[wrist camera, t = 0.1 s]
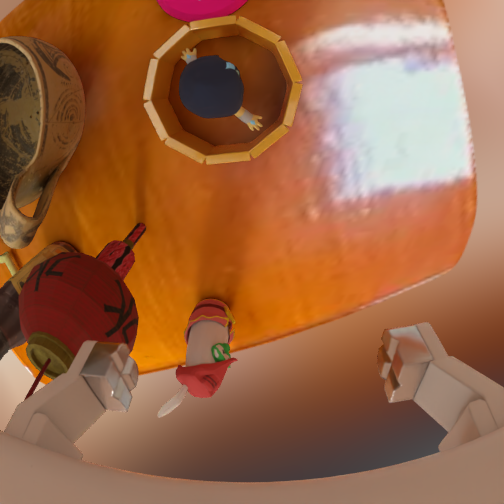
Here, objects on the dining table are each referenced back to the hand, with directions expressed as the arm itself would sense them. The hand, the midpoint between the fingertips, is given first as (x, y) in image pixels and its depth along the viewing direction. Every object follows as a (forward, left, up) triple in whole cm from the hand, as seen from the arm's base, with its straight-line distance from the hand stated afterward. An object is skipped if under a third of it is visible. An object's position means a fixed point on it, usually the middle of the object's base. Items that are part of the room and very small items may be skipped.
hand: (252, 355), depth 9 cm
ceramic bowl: (-10, -22, -23) cm, 34 cm away
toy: (+16, -7, -23) cm, 29 cm away
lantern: (+5, -13, -23) cm, 27 cm away
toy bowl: (-8, -2, -23) cm, 25 cm away
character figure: (-8, -2, -23) cm, 25 cm away
